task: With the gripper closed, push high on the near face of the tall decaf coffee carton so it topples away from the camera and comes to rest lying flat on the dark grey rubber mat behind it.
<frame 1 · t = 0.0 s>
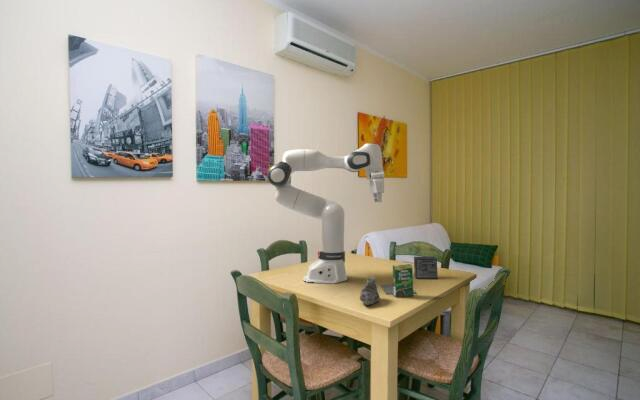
hand: (378, 202, 173), 39 cm above the table, tool pointing down, fingers open, 8 cm apart
small box: (425, 278, 174), on the table
mat: (397, 289, 153), on the table
mineral rock: (367, 302, 137), on the table
coffee box: (403, 296, 144), on the table
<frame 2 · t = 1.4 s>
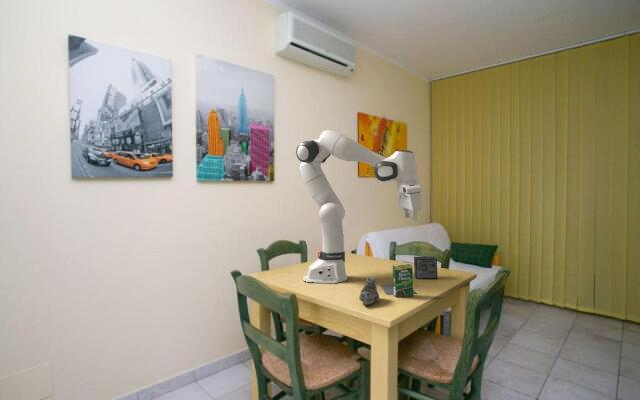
hand: (410, 219, 148), 32 cm above the table, tool pointing down, fingers open, 8 cm apart
nothing on the table moved.
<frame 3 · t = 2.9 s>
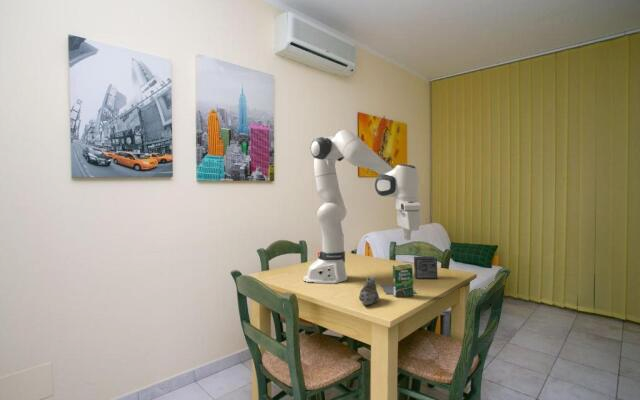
hand: (407, 239, 136), 25 cm above the table, tool pointing down, fingers closed
nothing on the table moved.
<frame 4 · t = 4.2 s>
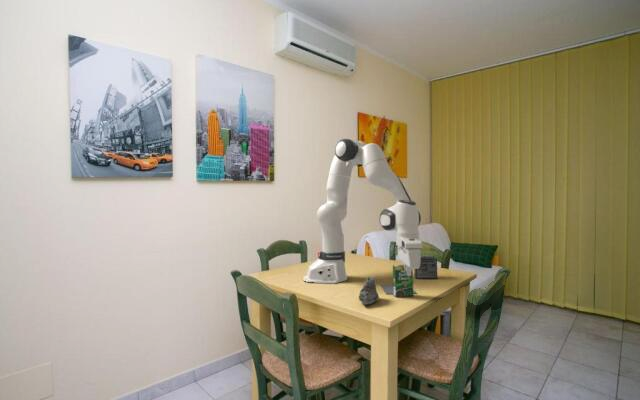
hand: (408, 275, 136), 11 cm above the table, tool pointing down, fingers closed
nothing on the table moved.
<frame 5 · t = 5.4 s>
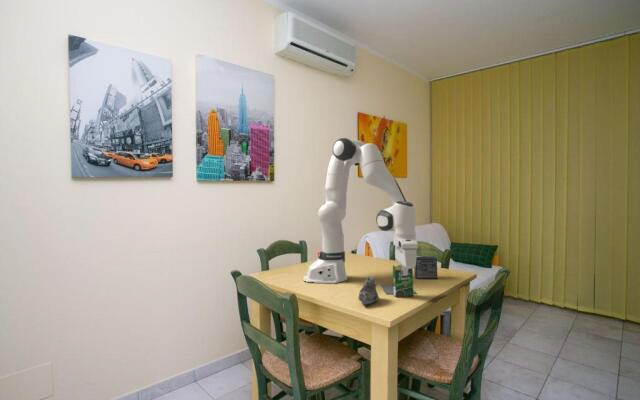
hand: (404, 274, 140), 10 cm above the table, tool pointing down, fingers closed
coffee box: (403, 296, 144), on the table, touching gripper
everything else where it was.
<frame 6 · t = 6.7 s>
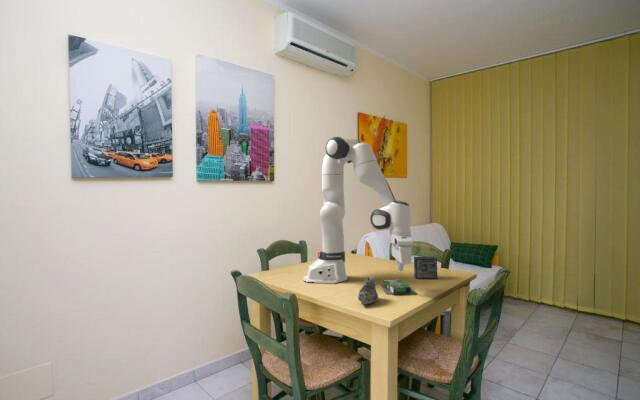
hand: (400, 270, 147), 10 cm above the table, tool pointing down, fingers closed
coffee box: (402, 290, 145), point 2 cm above the table, touching mat
everything else where it was.
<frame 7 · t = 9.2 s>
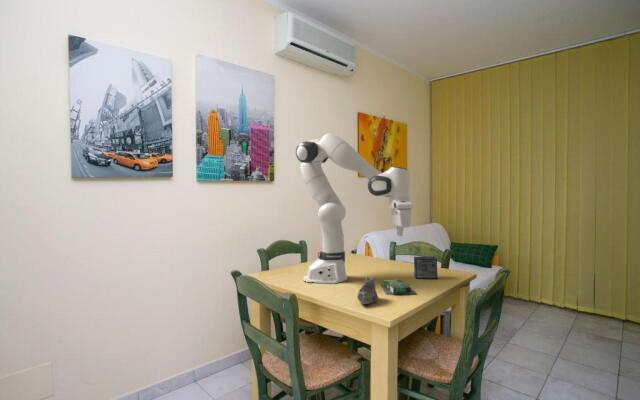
hand: (399, 235, 148), 25 cm above the table, tool pointing down, fingers closed
nothing on the table moved.
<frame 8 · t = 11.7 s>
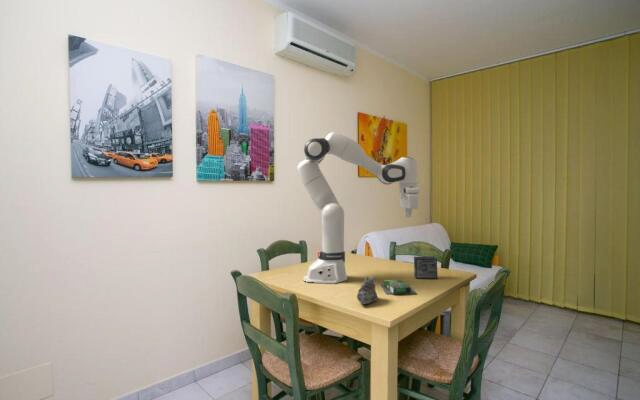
hand: (408, 217, 171), 31 cm above the table, tool pointing down, fingers closed
nothing on the table moved.
at the end: coffee box tilted 90°; coffee box inside the target area (8.3 cm from its centre), point 1.8 cm above the table; the gripper is holding nothing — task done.
